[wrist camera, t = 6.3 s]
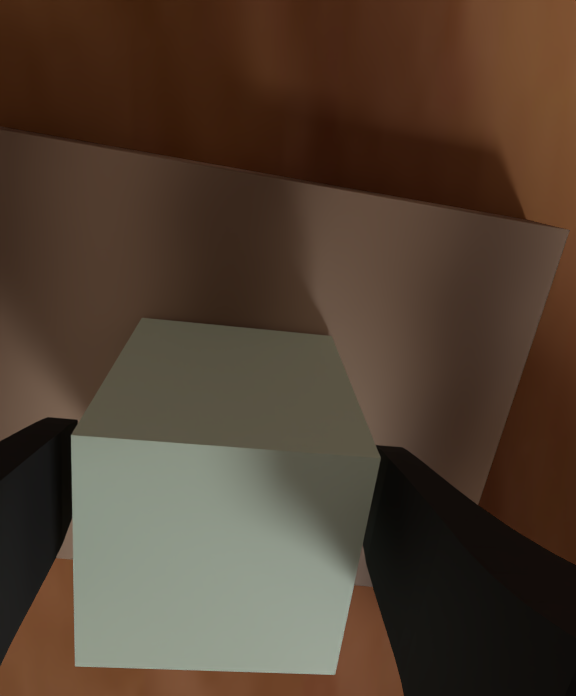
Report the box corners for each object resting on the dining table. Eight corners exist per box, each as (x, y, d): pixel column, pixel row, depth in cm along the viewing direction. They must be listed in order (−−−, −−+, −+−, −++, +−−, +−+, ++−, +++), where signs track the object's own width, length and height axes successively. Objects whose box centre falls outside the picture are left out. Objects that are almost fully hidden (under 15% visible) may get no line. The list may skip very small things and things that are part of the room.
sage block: (331, 335, 15) (381, 458, 9) (306, 492, 16) (334, 674, 11) (141, 317, 14) (71, 435, 9) (136, 480, 16) (75, 666, 10)
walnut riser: (516, 217, 17) (570, 230, 14) (421, 534, 21) (448, 593, 18) (-22, 122, 15) (-84, 114, 12) (-18, 488, 19) (-64, 547, 16)
